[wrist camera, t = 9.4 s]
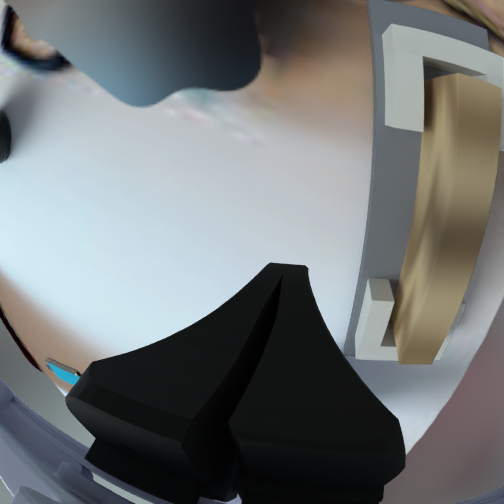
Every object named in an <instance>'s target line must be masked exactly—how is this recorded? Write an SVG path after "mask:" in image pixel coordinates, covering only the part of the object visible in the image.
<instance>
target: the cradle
mask: <svg viewBox="0 0 504 504" xmlns="http://www.w3.org/2000/svg"><path fill="white" fill-rule="evenodd" d="M367 8H368V16H369V25H370V35H371V47H372V63H373V90H374V126H373V154H372V171H371V184H370V196H369V206H368V215H367V224H366V232H365V239H364V246H363V253H362V260H361V266H360V272H359V278H358V283H357V289H356V294H355V299H354V304H353V309H352V314H351V318H350V323H349V327H348V332H347V336H346V340H345V344H344V356H356V359H359V360H387V361H398V355H397V349H396V343H395V337H394V332H393V327H392V321H391V316H390V315H391V312H392V309H393V305H394V297H395V294H396V290H397V286H398V282H399V278H400V274H401V270H402V266H403V262H404V258H405V253H406V248H407V244H408V239H409V234H410V228H411V223H412V217H413V211H414V205H415V198H416V190H417V182H418V174H419V164H420V152H421V137H422V132H423V128H424V80H427V79H431V78H436V77H441V76H446V75H451V74H456V73H461V74H464V75H467V76H470V77H473V78H476V79H479V80H482V81H485V82H487V83H490V84H493V85H495V86H498V87H500V88H501V99H502V111H501V136H500V148H499V150H500V151H504V58H503V57H501V56H499V55H497V54H494V53H492V52H490V50H489V42H488V36H487V30H486V29H483V28H481V27H478V26H476V25H473V24H471V23H468V22H465V21H463V20H460V19H457V18H454V17H451V16H448V15H444V14H441V13H438V12H434V11H430V10H427V9H423V8H419V7H414V6H410V5H405V4H401V3H395V2H390V1H384V0H368V2H367ZM465 306H466V303H465V301H464V299H462V302H461V304H460V307H459V309H458V311H457V314H456V316H455V318H454V321H453V323H452V325H451V327H450V329H449V331H448V334H447V336H446V338H445V340H444V342H443V344H442V346H441V348H440V350H439V351H438V353H437V355H436V357H435V359H434V360H440V358H441V356H442V354H443V352H444V350H445V349H446V347H447V345H448V343H449V341H450V339H451V337H452V335H453V333H454V331H455V329H456V326H457V324H458V322H459V320H460V318H461V316H462V313H463V311H464V309H465Z"/></svg>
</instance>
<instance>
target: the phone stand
mask: <svg viewBox="0 0 504 504" xmlns="http://www.w3.org/2000/svg"><path fill="white" fill-rule="evenodd" d="M45 361H46V362H47V363H48V364H49V366H48V365H46V364H45V365H46V366H47V367H49V368H48V369H50V368H51V369H50V370H52V371H54V372H55V374H56V375H57V376H58V377H59V378H60V379H62V380H64V381H66V382H68V383H70V384H72V385H75V384H76V382H77V381H78V380H79V378H80V377H81V375H80V376H78V375H77V374H76V372H77V370H75V369H72V368H70V367H68V366H65V365H63V364H61V363H59V362H57V361H54V360H52V359H50V358H46V360H45Z"/></svg>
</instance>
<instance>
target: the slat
mask: <svg viewBox="0 0 504 504" xmlns="http://www.w3.org/2000/svg"><path fill="white" fill-rule="evenodd" d="M501 111H502V99H501V88H500V87H498V86H495V85H493V84H490V83H487V82H485V81H482V80H479V79H476V78H473V77H470V76H467V75H464V74H461V73H456V74H451V75H446V76H441V77H436V78H431V79H427V80H424V128H423V132H422V137H421V152H420V164H419V174H418V182H417V190H416V198H415V205H414V211H413V217H412V223H411V228H410V234H409V239H408V244H407V248H406V253H405V258H404V262H403V266H402V270H401V274H400V278H399V282H398V286H397V290H396V294H395V297H394V305H393V309H392V312H391V315H390V316H391V321H392V327H393V332H394V337H395V343H396V349H397V355H398V361H399V364H432V363H433V361H434V359H435V357H436V355H437V353H438V351H439V350H440V348H441V346H442V344H443V342H444V340H445V338H446V336H447V334H448V331H449V329H450V327H451V325H452V323H453V321H454V318H455V316H456V314H457V311H458V309H459V307H460V304H461V302H462V299H463V297H464V294H465V292H466V289H467V287H468V284H469V281H470V278H471V275H472V273H473V270H474V267H475V264H476V261H477V257H478V254H479V251H480V247H481V244H482V240H483V237H484V233H485V229H486V225H487V221H488V217H489V212H490V208H491V203H492V198H493V192H494V187H495V181H496V174H497V167H498V158H499V148H500V136H501Z"/></svg>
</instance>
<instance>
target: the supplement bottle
mask: <svg viewBox="0 0 504 504" xmlns="http://www.w3.org/2000/svg"><path fill="white" fill-rule="evenodd" d="M9 148H10V128H9V123H8V120H7V117H6V115H5V114H4V113H3V112H1V111H0V164H1V163H2V162H4V160H5V159H6V157H7V155H8V152H9Z"/></svg>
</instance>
